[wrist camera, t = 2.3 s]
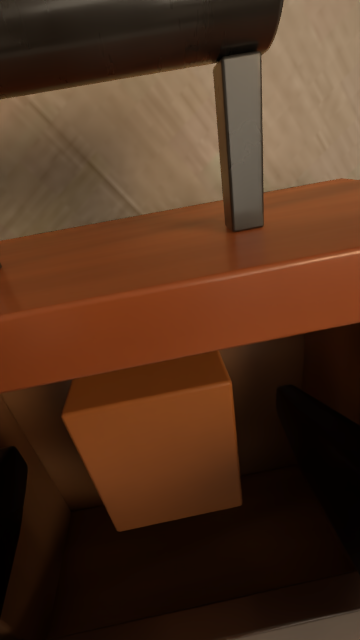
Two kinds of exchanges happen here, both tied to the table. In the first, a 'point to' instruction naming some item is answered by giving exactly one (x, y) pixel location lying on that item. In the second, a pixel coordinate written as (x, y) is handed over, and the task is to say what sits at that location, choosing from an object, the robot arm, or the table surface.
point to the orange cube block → (158, 439)
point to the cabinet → (254, 616)
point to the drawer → (171, 328)
